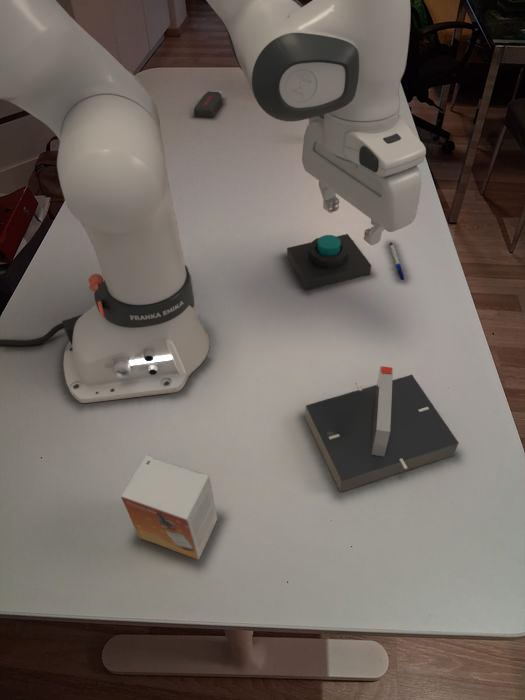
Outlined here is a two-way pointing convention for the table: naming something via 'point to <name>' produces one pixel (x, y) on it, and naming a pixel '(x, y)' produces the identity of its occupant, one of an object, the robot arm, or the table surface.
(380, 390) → the grey thin upright block
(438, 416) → the base
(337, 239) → the button
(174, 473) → the small box
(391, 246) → the ballpoint pen
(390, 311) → the table surface
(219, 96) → the dark grey bevelled block
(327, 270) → the control block
